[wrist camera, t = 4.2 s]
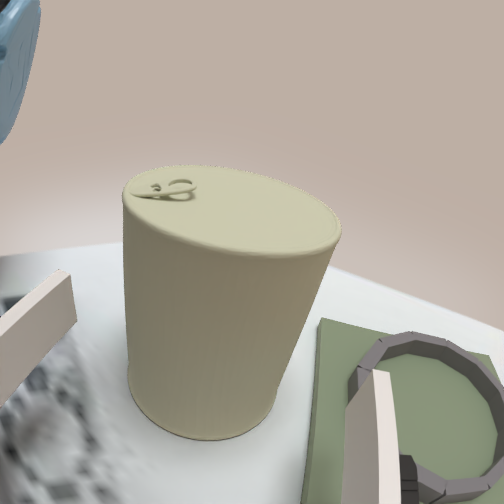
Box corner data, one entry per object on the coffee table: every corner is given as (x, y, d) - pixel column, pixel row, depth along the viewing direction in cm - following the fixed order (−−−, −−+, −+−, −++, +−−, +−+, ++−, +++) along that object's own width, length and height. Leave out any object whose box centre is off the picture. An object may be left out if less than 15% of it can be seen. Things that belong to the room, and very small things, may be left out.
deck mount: (297, 523, 11) (316, 511, 10) (317, 326, 25) (328, 302, 24) (526, 502, 9) (550, 485, 8) (483, 362, 23) (496, 343, 22)
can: (122, 329, 20) (122, 151, 15) (246, 321, 24) (285, 164, 18) (140, 451, 13) (120, 239, 7) (300, 421, 17) (393, 241, 11)
